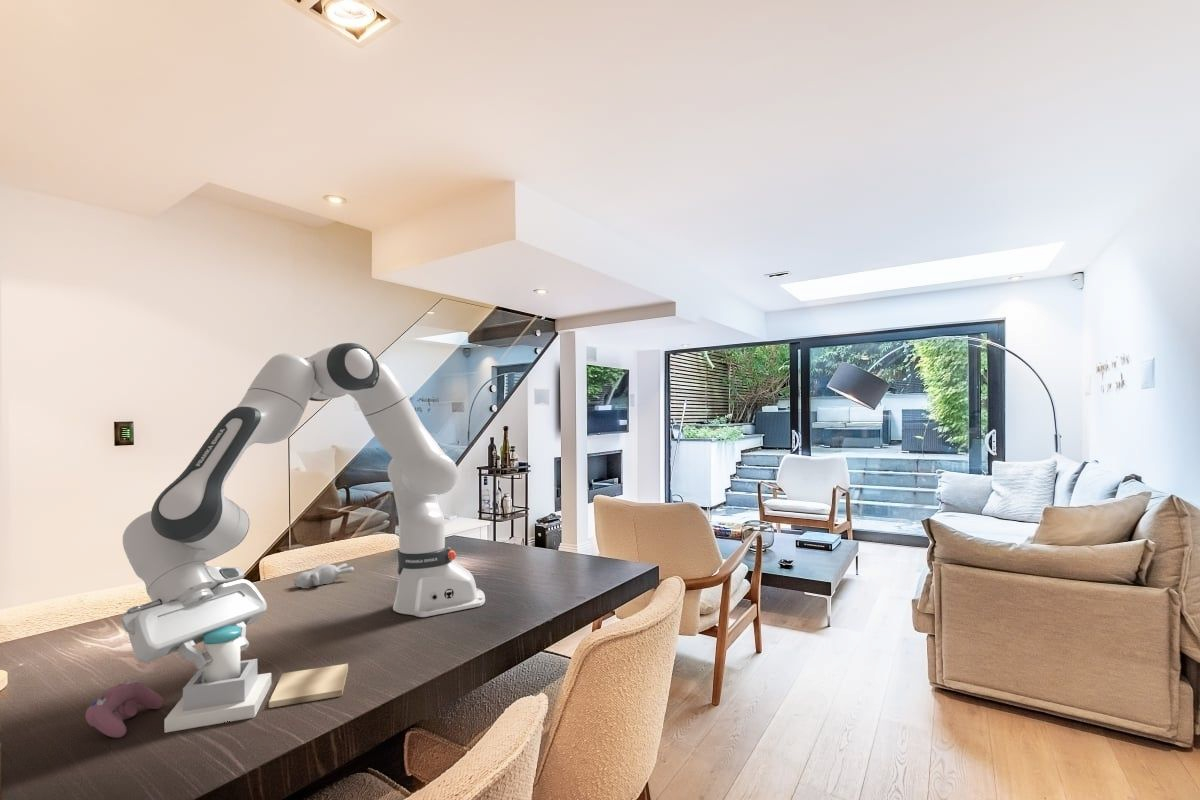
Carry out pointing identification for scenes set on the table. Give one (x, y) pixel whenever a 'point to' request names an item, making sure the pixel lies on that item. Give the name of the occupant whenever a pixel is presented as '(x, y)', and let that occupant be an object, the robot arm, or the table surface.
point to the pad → (309, 685)
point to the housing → (219, 699)
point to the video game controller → (120, 707)
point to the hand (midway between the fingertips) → (225, 657)
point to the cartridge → (223, 654)
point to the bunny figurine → (321, 575)
